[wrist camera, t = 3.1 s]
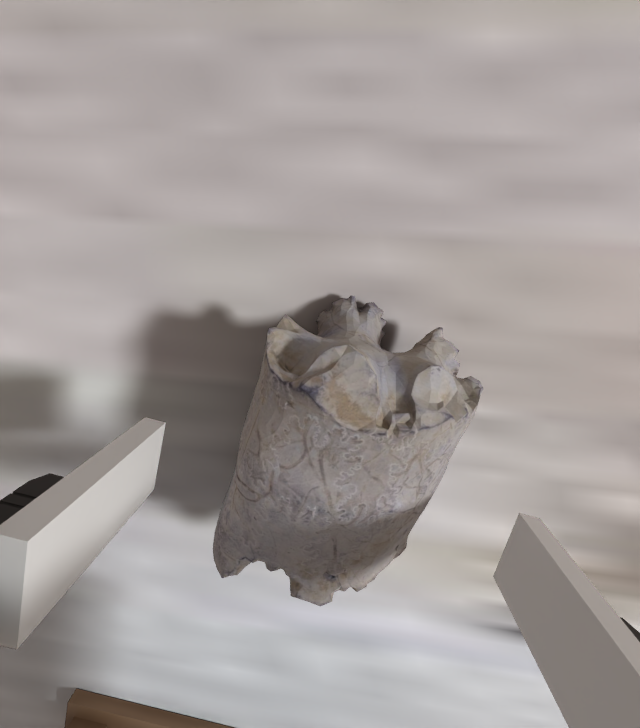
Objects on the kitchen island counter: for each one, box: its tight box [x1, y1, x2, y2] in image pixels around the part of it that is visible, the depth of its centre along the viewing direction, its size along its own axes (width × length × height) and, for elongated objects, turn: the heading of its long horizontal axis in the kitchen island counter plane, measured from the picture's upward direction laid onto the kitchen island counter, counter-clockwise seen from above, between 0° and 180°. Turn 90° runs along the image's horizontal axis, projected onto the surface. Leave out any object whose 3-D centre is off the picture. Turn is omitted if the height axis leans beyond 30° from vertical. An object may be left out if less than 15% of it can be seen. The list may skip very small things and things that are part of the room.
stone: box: [213, 296, 483, 606], centre depth 17 cm, size 8×12×7 cm, turn 162°
